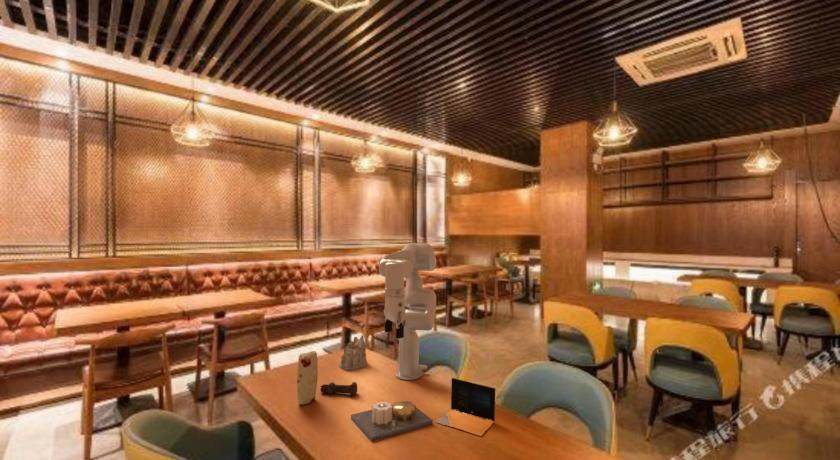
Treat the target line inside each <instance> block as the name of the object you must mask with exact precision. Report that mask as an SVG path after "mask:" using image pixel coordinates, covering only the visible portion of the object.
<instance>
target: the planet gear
mask: <svg viewBox="0 0 840 460" xmlns="http://www.w3.org/2000/svg"><path fill="white" fill-rule="evenodd" d="M381 404H384V405H385V407H384V408H380V405H381ZM392 405H393V403H390V402H388V401H377V402H376V403H373V404H372V409H371V410H372V422H373V423H374V422H376V423H377V424H379V425H380V424H383V423H384V424H388V422H389V421H390V422H391V421H392Z"/></svg>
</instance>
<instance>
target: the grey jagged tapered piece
mask: <svg viewBox="0 0 840 460" xmlns="http://www.w3.org/2000/svg"><path fill="white" fill-rule="evenodd" d="M364 337H365V336H364V335H360V337H359V338H358V337H357V336H354V337H353V341H350V342H348V343H347V345H346V346H345V348H344V349H343V354H342V355H341V357H340V358H341V361H340V362H339V365H338V368H340V369H343V370H345V371H349V370H355V369H356V370H357V369H360V368H363V367H365V366H367V365H368V361H367V352H366V349H367V344H366V343H365V339H364Z"/></svg>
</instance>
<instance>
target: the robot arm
mask: <svg viewBox="0 0 840 460" xmlns="http://www.w3.org/2000/svg"><path fill="white" fill-rule="evenodd" d="M436 267H437V258H436V254H435V251H434V248H433V246H432V245H431V243H426V242H425V243H423V242H422V243H421V242H411V243H407V244H405V245H404V247H403V248H402V249H401V250H398V251H395V252H391V253H388V254H386V255H384V257H382V259H381V260H380V261H379V264H378V272H379V275H380V276H381V277H384V281H385V282H384V284H385V285H384V297H385V299H384V309H383V310H382V311H383V318H384V319H383V320H384V321H383V322H384V333H389V332H390V333H391V332H392V331H393V323H395V326H396V328H395V339H397V340H398V342H399V343H398V370H396V371H395V374H394V375H395V377H396V378H397V379H399V380H405V381H413V380H414V381H415V380H419V379H420V378H421V377H422V376H423V375H422V371H423V370H427V369H428V365H426V364H423V365H422V364H419V362H420V359H419V357H420V356H419V355H420V337H419V335H418V333H417V331H426V332H427V331H431V330H433V328H434V325H435V318H436V308H437V294H436V292H435V291H434V290H433V289H426V288H425V289H424V288H423V287H424V280H423V278H422V276H421V275H420V274H419V273H418V272H417V271H420V272H421V271H422V272H432V271H434V270H435V269H436ZM405 282H406V283H405Z"/></svg>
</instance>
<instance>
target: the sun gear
mask: <svg viewBox="0 0 840 460" xmlns="http://www.w3.org/2000/svg"><path fill="white" fill-rule="evenodd" d="M406 401H407V400H406ZM406 401H405V400H401V401H397V402H396V401H395V402H393V403H392V405H393V406H392V415H393V416H394V417H395V419H403V420H407V419H409V418H414V414H416V408H417V405H416V404H414V403H413V402H412V401H409V402H406Z"/></svg>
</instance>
